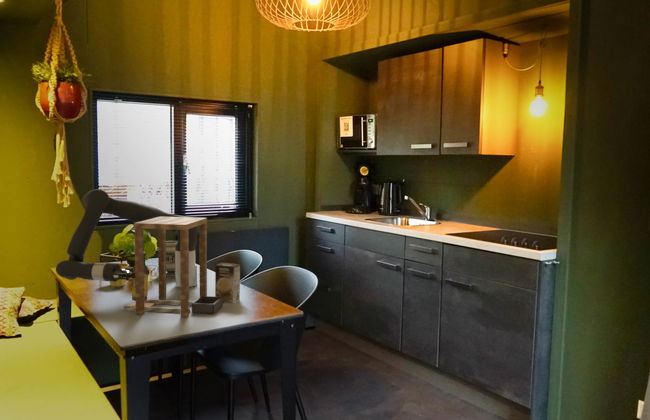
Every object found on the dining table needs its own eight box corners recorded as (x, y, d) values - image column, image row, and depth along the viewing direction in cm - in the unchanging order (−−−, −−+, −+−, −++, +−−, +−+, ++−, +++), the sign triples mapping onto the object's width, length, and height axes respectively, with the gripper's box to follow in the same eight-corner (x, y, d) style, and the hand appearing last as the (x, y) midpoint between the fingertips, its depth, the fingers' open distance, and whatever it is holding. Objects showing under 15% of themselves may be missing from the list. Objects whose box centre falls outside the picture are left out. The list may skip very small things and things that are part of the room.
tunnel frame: (116, 314, 214) (114, 222, 211) (143, 298, 239) (142, 215, 236) (186, 317, 212) (186, 224, 208) (207, 301, 236) (207, 217, 233)
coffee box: (214, 301, 236) (214, 264, 234) (221, 298, 242) (221, 262, 240) (233, 304, 233) (233, 266, 231) (240, 300, 239) (240, 263, 237)
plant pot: (118, 288, 256) (118, 267, 255) (101, 286, 260) (100, 265, 259) (134, 284, 266) (133, 264, 265) (117, 281, 270) (116, 262, 269)
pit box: (191, 313, 218) (191, 303, 218) (201, 305, 230) (201, 295, 230) (213, 314, 217) (213, 304, 217) (222, 306, 229) (222, 296, 229)
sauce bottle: (128, 301, 224) (128, 253, 222) (136, 297, 230) (135, 250, 228) (143, 302, 223) (143, 254, 221) (150, 298, 229) (150, 251, 227)
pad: (124, 309, 222) (124, 308, 222) (135, 302, 232) (134, 301, 232) (145, 310, 221) (145, 309, 221) (155, 303, 231) (155, 302, 231)
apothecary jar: (154, 276, 282) (153, 242, 281) (171, 272, 293) (171, 239, 291) (170, 279, 276) (170, 244, 274) (188, 275, 286) (188, 241, 285)
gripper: (97, 266, 219) (137, 268, 217) (114, 259, 233) (152, 261, 232) (97, 284, 220) (137, 287, 218) (114, 277, 234) (152, 279, 232)
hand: (145, 274), depth 225 cm, fingers closed on sauce bottle, 6 cm apart
